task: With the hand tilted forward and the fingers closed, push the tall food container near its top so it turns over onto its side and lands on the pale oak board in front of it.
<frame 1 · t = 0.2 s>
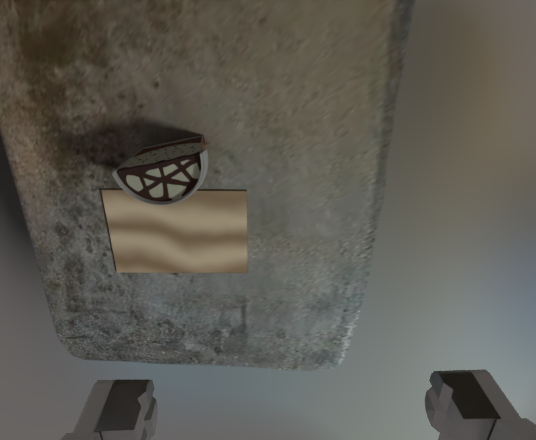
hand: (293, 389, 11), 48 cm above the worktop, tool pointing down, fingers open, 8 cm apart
food container: (178, 161, 58), on the worktop
oak board: (178, 232, 63), on the worktop
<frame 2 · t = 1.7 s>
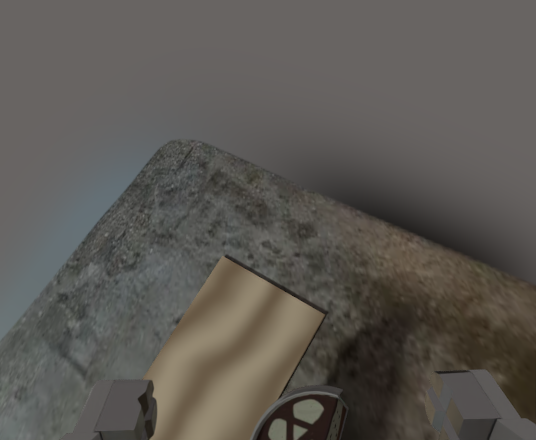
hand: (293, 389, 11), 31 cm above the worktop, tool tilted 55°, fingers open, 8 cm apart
oak board: (220, 367, 44), on the worktop
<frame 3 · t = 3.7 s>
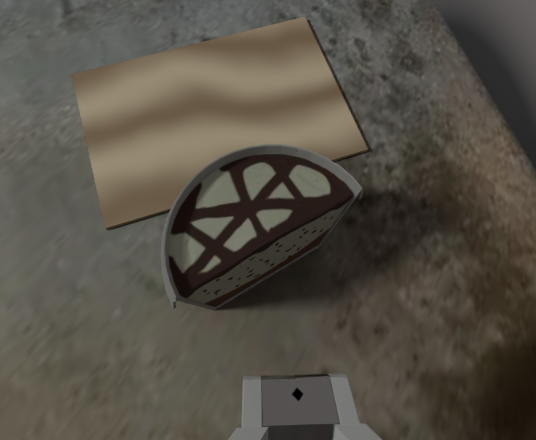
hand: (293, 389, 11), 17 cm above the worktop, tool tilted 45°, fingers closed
food container: (248, 244, 30), on the worktop
oak board: (216, 113, 34), on the worktop
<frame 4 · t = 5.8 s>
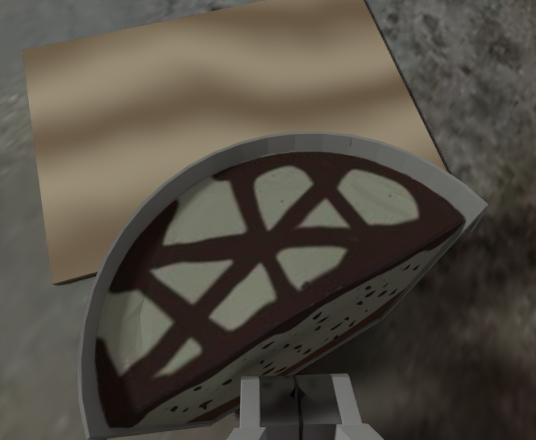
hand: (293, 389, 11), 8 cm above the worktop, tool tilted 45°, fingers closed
food container: (269, 314, 20), on the worktop, touching gripper
oak board: (227, 113, 24), on the worktop
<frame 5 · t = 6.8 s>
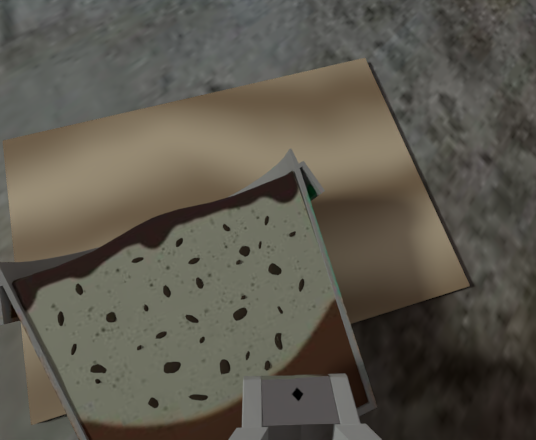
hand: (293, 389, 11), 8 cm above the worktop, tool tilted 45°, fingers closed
food container: (254, 437, 16), point 2 cm above the worktop, touching oak board
oak board: (226, 212, 21), on the worktop
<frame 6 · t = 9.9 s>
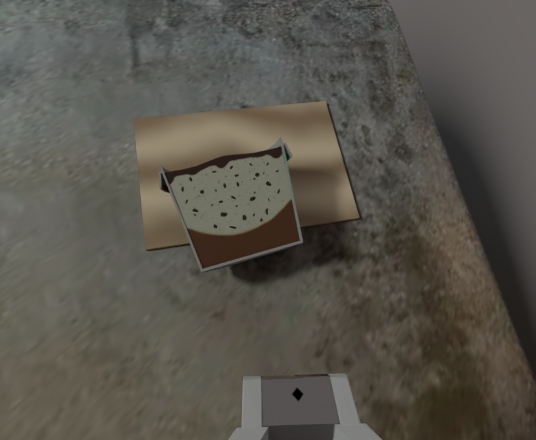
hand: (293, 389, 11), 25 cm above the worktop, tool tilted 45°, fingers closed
food container: (249, 261, 37), point 2 cm above the worktop, touching oak board
oak board: (244, 169, 42), on the worktop
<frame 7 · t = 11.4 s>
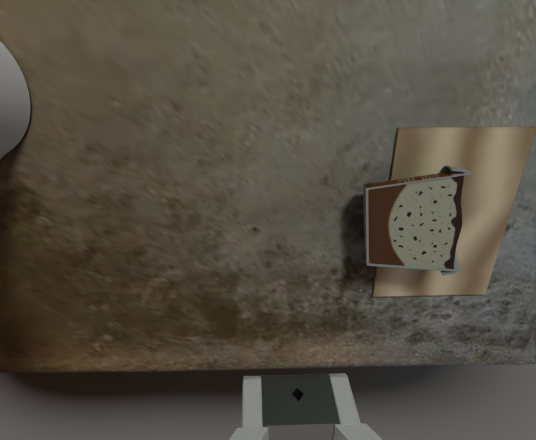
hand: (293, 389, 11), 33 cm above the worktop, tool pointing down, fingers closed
food container: (362, 215, 44), point 2 cm above the worktop, touching oak board
oak board: (445, 219, 47), on the worktop
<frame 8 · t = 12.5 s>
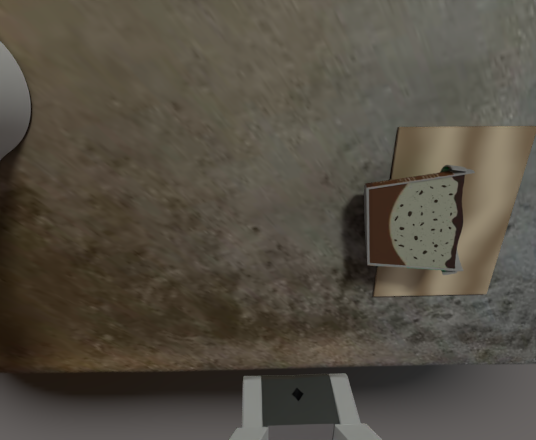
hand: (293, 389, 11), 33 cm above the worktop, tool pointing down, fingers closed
food container: (363, 215, 44), point 2 cm above the worktop, touching oak board
oak board: (446, 218, 47), on the worktop
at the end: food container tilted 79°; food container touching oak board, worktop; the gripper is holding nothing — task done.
